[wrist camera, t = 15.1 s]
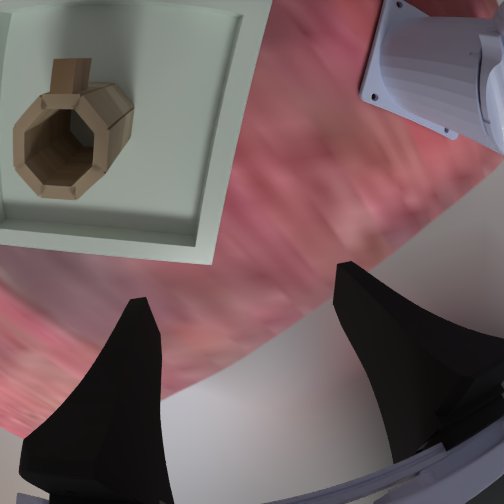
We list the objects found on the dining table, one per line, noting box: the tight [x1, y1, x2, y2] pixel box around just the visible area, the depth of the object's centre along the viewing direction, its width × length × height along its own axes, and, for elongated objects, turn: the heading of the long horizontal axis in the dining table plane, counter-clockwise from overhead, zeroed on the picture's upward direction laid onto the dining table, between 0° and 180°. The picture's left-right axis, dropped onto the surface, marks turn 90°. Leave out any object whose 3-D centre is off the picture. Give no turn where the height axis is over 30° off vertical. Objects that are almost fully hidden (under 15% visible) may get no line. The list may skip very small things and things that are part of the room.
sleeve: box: [13, 58, 135, 200], centre depth 12 cm, size 4×6×6 cm
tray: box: [0, 0, 273, 265], centre depth 15 cm, size 16×16×2 cm
